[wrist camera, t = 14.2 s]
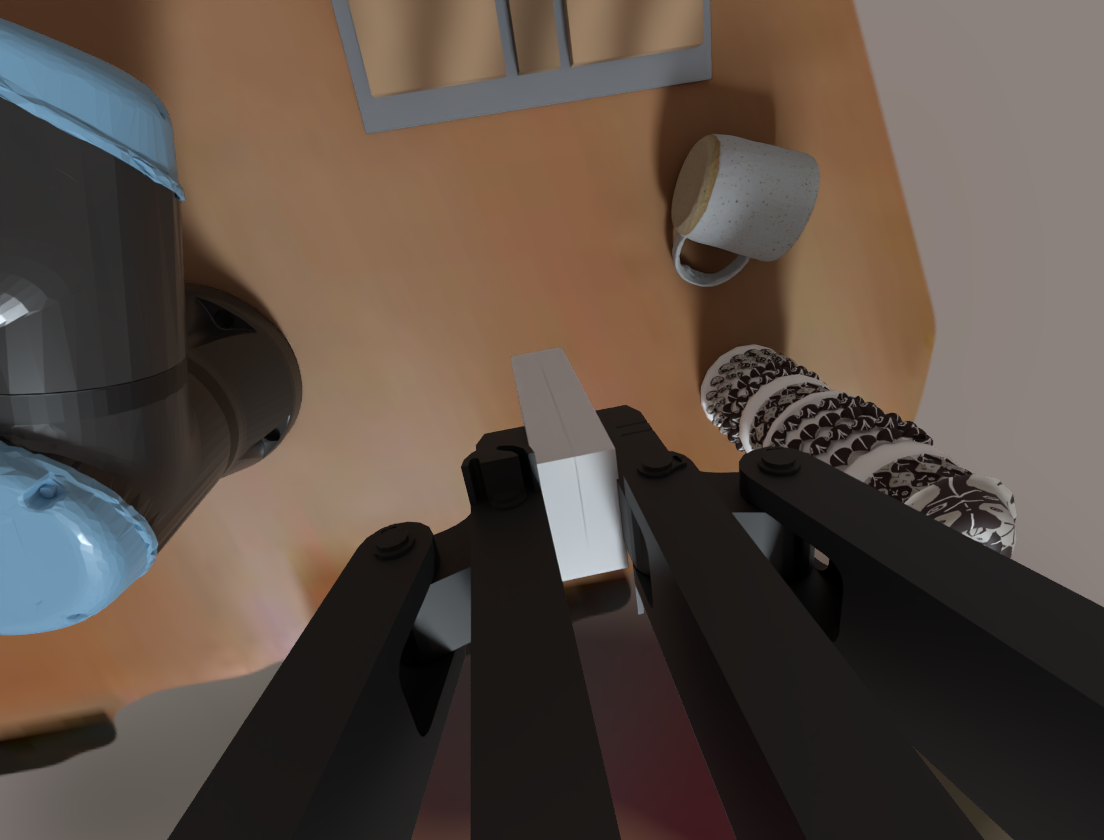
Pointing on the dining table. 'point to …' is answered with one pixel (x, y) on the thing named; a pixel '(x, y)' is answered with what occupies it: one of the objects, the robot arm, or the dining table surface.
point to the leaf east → (630, 28)
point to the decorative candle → (852, 441)
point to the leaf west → (427, 43)
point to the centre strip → (534, 35)
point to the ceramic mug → (741, 202)
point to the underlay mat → (520, 78)
